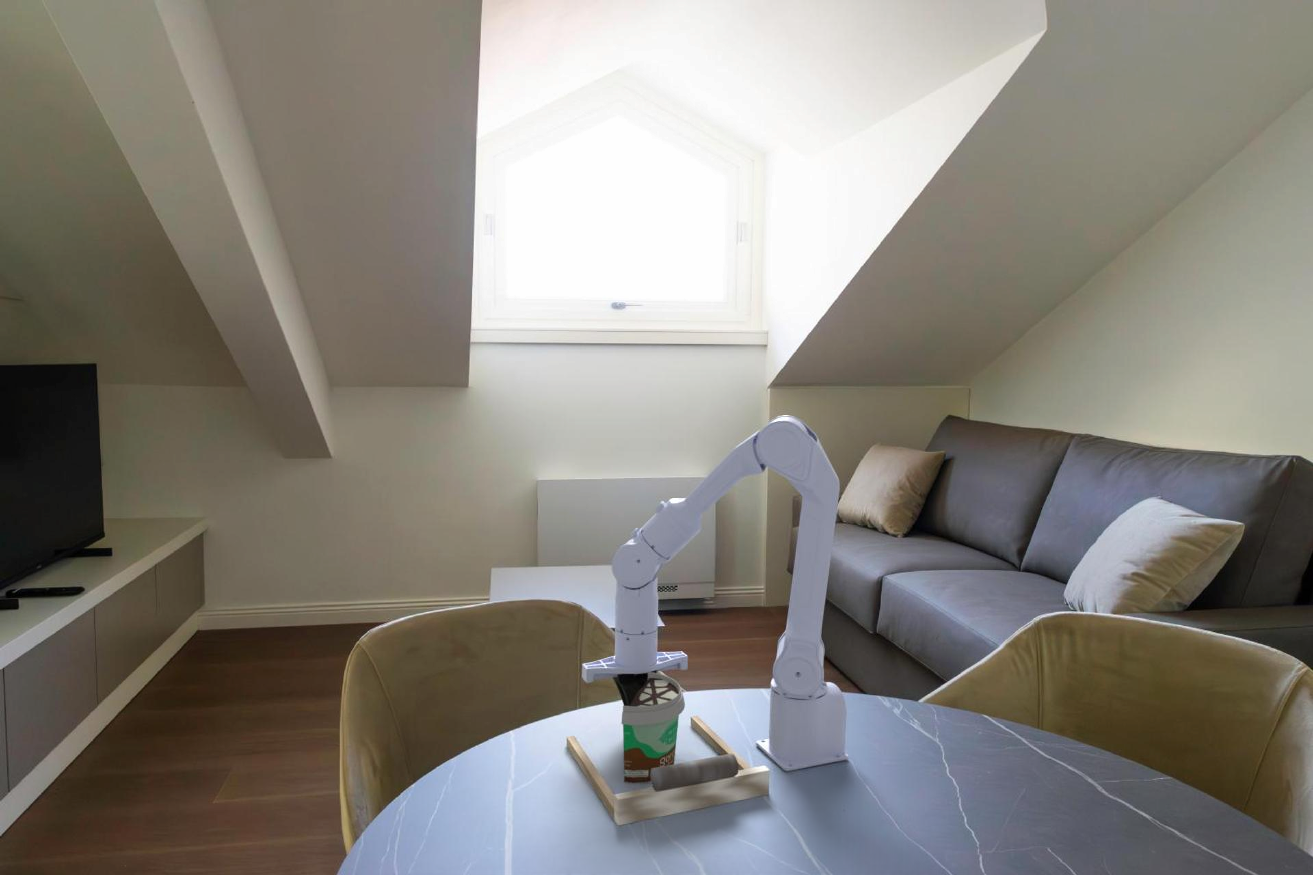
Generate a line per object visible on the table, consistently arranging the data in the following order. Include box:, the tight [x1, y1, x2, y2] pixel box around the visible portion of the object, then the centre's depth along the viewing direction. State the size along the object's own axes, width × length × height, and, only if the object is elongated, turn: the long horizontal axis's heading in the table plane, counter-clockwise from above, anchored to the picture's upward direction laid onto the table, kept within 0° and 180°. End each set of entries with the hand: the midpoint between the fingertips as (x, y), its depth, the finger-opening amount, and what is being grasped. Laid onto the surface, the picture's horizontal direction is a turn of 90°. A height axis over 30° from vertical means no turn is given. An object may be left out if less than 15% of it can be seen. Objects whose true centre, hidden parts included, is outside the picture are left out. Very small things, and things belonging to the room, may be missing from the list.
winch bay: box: [566, 715, 771, 826], centre depth 105 cm, size 19×21×5 cm
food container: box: [620, 672, 686, 784], centre depth 106 cm, size 12×6×10 cm, turn 165°
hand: (634, 725), depth 115 cm, fingers closed
